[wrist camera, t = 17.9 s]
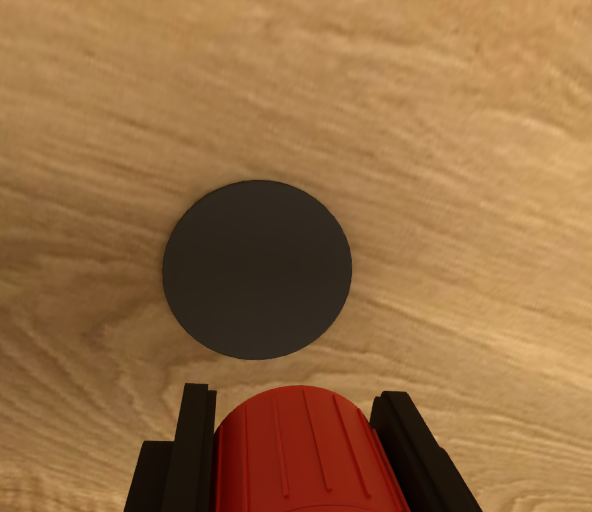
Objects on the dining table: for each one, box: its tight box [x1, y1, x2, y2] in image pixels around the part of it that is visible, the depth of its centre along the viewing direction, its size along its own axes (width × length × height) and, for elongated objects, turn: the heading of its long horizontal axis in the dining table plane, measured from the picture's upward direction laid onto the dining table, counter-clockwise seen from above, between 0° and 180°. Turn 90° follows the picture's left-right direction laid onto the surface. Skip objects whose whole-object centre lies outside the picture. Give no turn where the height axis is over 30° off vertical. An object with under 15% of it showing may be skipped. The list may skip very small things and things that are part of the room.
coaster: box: [162, 180, 352, 360], centre depth 23 cm, size 9×9×1 cm
